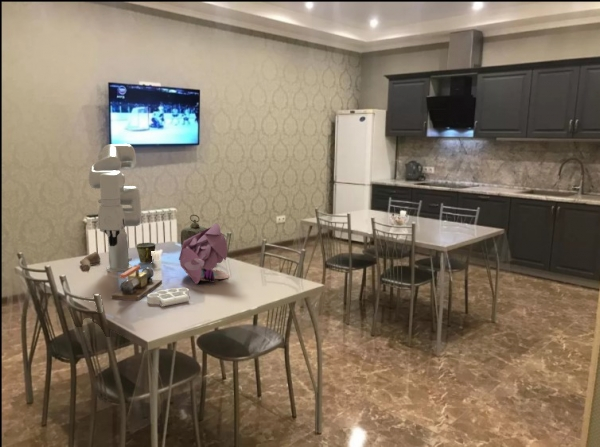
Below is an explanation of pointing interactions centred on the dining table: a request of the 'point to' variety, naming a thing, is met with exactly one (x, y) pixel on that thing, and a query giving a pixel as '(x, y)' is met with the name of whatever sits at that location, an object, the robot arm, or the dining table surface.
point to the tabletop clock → (191, 230)
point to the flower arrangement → (204, 255)
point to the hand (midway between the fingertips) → (113, 245)
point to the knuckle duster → (169, 297)
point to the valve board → (138, 291)
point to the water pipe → (136, 281)
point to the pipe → (90, 260)
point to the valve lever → (130, 271)
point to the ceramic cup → (145, 252)
